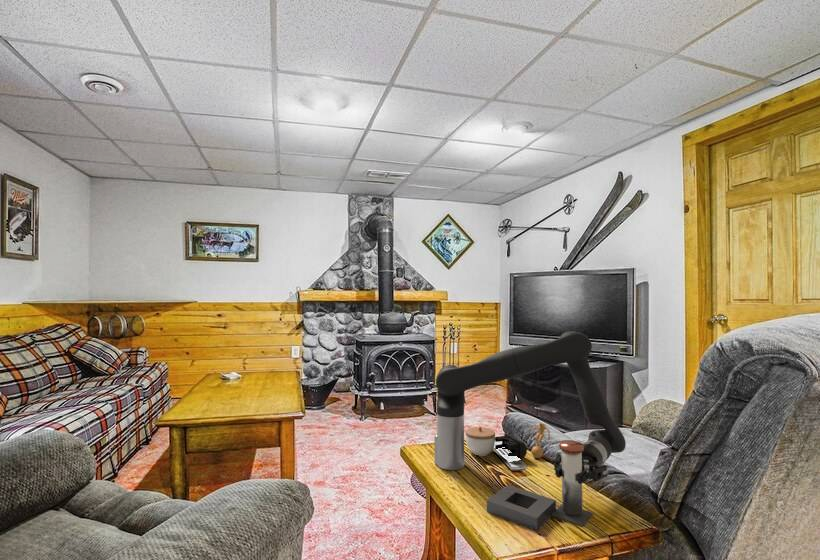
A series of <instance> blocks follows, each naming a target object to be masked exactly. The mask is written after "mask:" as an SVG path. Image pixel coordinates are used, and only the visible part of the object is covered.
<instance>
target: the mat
mask: <svg viewBox="0 0 820 560" xmlns="http://www.w3.org/2000/svg"><path fill="white" fill-rule="evenodd" d="M593 515H594V512H592V511H589V510H585V509H583V513H582V514H580V515H571V514H568V513H566V512H564V511H563V509H562V503H561V504H560V505H559V506H558V507H556V510H555V511H554V512H553V513H552V514H551V517H554V518H557V519H559V520H562V521H565V522H568V523H570V524H572V525H573V524H574V525H576V526H578V527H581V528H583V527H584V526H585V525H586V524H587V523H588V521H589V520H590V519H591V518H592V516H593ZM585 523H586V524H585Z"/></svg>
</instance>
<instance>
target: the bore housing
mask: <svg viewBox="0 0 820 560" xmlns="http://www.w3.org/2000/svg"><path fill="white" fill-rule="evenodd" d="M556 501H557V500H556V499H553V498H550V497H547V496H545V495H541V494H538V493H535V492H531V491H528V490H525V489H523V488H519V487H515V486H513V485H510V484H507V485H506V486H504V487H503V488H502V489H500V490H499V491H498V492H496V493H495V494H493V495H492V496H490V497H489V498H488V499H487V500H486V513H489V514H491V515H492V514H493V515H494V516H497V517H501V518H502V519H505V520H507V521H510V522H513V523H516V524H518V525H520V526H523V527H526V528H529V529H531V530H534V531H538V530H539V529H540V528H541V527H542V526H543V525H544V524H545V523H546V522H547V521H548V520H549V519H550V518H551V517H552V516H551V514H552V513H553V512H554V511H555V510H556V509H557V502H556ZM520 505H521V506H520Z"/></svg>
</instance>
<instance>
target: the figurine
mask: <svg viewBox="0 0 820 560" xmlns="http://www.w3.org/2000/svg"><path fill="white" fill-rule="evenodd" d="M536 428H538V432H537V433H536V435H535V437H534V439H535V441H536V444H535V445H534V446H533V447H532V448H531V456H533V457H534V458H536V459H540V458H541V457H543V455H544V450H543V448H542V445H543V441H542V440H543V438H544V436H545V435H544V432H545V430H546V431H547V436H548V437H547V440H548V441H550V437H551V436H550V434H551V432H550V430H549V428H548V427H547V425H546V423H541V422H539V424H537V425H535V426H534V427H532V429H531V431H530V435H531V434H532V432H533V431H534V430H535V429H536ZM539 443H540V444H539Z"/></svg>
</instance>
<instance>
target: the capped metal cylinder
mask: <svg viewBox="0 0 820 560" xmlns="http://www.w3.org/2000/svg"><path fill="white" fill-rule="evenodd" d="M558 445H559V446H558V447H559V449H560V450H561V451H560V452H561V457H562V476H561V497H562V498H561V504H562V509H563V511H564V512H566V513H568V514H571V515H580V514H582V513H583V510H584V507H583V483H582V484H579V483H578V475H579V474H580V473H581V472H582V452H583V451H584V445H583V443H582V442H581V441H578V440H572V439H564V440H560V441H559V444H558Z"/></svg>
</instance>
